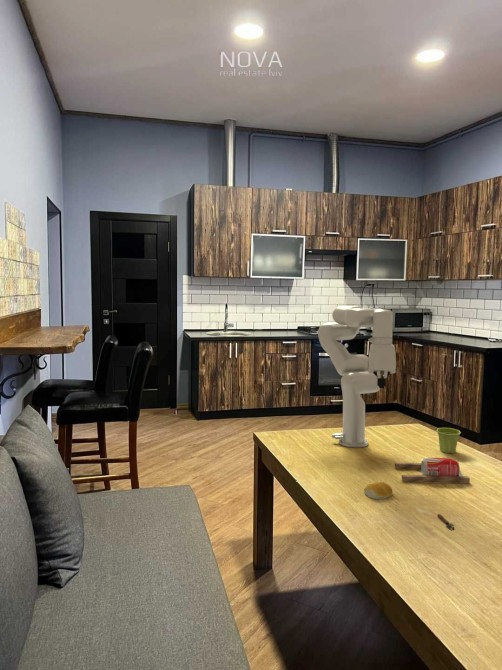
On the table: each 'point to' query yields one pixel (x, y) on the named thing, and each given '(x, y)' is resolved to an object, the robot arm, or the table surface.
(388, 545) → the table surface
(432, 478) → the walnut rails
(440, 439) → the plant pot
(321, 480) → the table surface
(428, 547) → the table surface
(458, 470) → the soda can
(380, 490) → the bread roll
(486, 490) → the table surface
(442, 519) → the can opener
